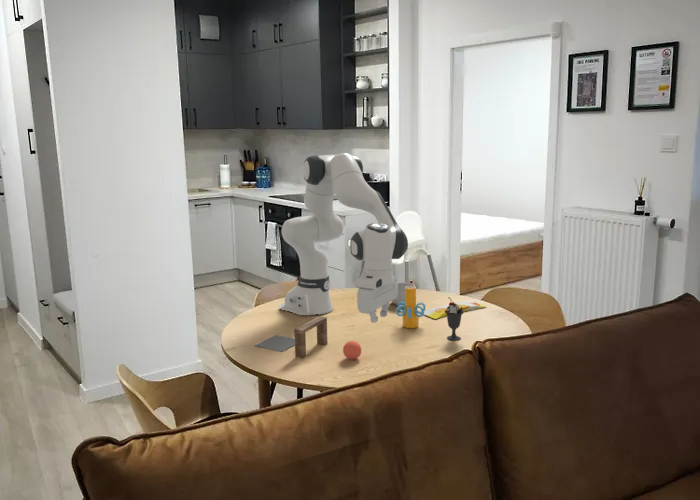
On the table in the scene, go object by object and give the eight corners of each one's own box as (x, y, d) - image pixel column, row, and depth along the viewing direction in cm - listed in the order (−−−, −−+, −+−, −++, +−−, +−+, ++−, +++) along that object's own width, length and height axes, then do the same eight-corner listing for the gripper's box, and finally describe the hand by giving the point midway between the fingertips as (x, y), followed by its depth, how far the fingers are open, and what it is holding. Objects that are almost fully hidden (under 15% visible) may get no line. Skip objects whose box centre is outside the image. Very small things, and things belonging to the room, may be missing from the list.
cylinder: (423, 332, 226) (423, 292, 223) (394, 330, 229) (394, 291, 225) (426, 321, 238) (426, 283, 235) (398, 320, 240) (398, 282, 237)
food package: (434, 316, 239) (418, 309, 248) (434, 321, 240) (418, 315, 248) (486, 303, 253) (470, 298, 262) (486, 309, 254) (469, 303, 262)
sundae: (442, 335, 223) (442, 295, 219) (460, 334, 223) (461, 294, 220) (446, 342, 216) (447, 300, 213) (465, 341, 217) (466, 299, 213)
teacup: (416, 307, 255) (416, 288, 254) (389, 308, 256) (389, 289, 254) (413, 297, 269) (413, 280, 267) (388, 298, 269) (388, 280, 268)
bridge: (295, 356, 206) (294, 329, 203) (320, 342, 218) (319, 316, 216) (302, 358, 204) (301, 330, 202) (327, 343, 217) (326, 317, 215)
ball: (339, 360, 202) (339, 342, 201) (349, 354, 207) (348, 337, 206) (355, 363, 199) (355, 346, 198) (364, 357, 204) (364, 340, 203)
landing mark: (254, 345, 216) (254, 345, 216) (275, 335, 226) (275, 334, 226) (282, 352, 210) (282, 351, 210) (302, 340, 220) (302, 340, 220)
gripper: (385, 268, 202) (385, 308, 205) (353, 282, 185) (354, 327, 188) (402, 270, 199) (402, 311, 202) (371, 285, 182) (372, 330, 185)
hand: (379, 319), depth 195 cm, fingers open, 5 cm apart
